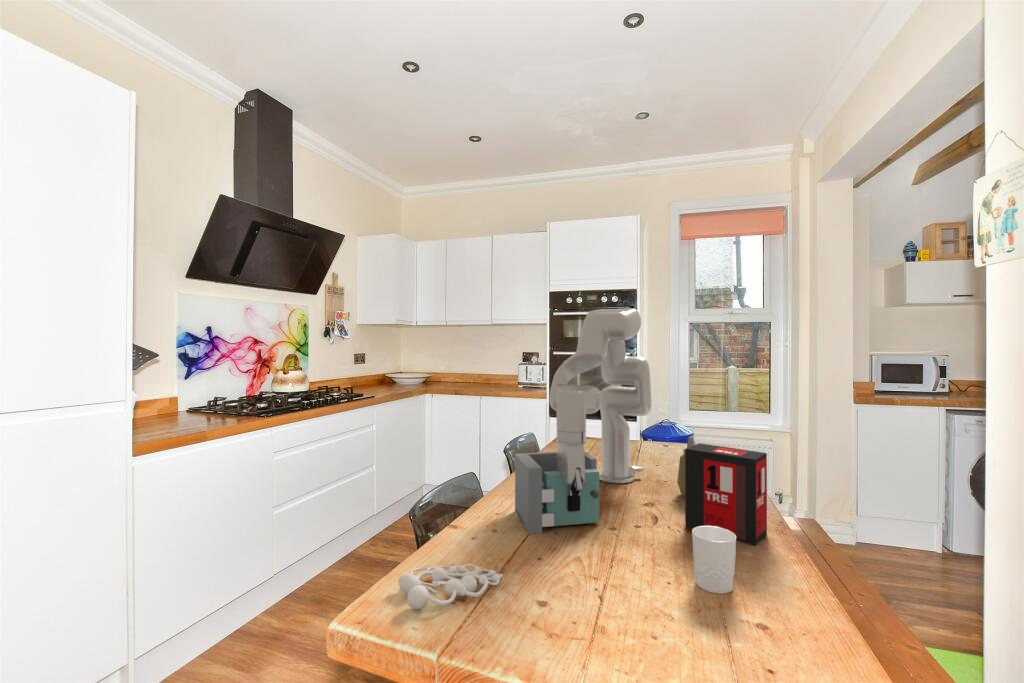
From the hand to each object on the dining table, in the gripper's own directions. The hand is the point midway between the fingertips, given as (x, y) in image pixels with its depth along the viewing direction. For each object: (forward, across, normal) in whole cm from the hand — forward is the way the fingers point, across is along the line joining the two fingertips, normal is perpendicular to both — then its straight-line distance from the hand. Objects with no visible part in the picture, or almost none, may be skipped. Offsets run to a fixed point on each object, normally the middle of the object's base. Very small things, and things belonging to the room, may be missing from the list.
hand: (571, 507), depth 122 cm
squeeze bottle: (+5, -15, +43) cm, 46 cm away
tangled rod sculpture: (+5, +25, -33) cm, 42 cm away
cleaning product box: (+5, +11, +36) cm, 38 cm away
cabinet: (+5, -5, -2) cm, 7 cm away
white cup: (+5, +34, +17) cm, 39 cm away
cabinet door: (+4, 0, 0) cm, 4 cm away
